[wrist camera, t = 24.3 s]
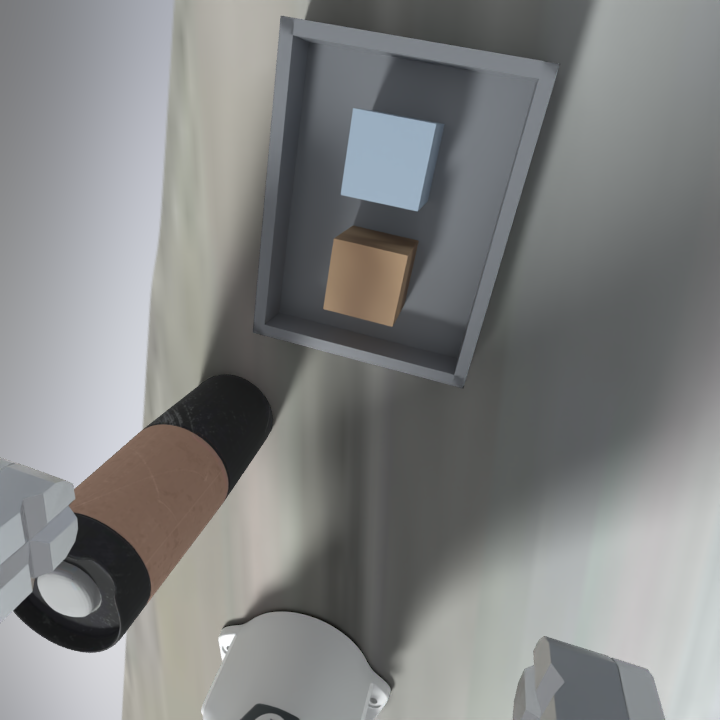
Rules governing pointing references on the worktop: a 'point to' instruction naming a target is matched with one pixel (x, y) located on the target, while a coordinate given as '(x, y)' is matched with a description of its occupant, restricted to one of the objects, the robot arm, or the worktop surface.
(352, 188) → the slate block
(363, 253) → the walnut block
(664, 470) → the worktop surface
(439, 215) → the charcoal tray
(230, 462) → the travel mug
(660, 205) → the worktop surface
